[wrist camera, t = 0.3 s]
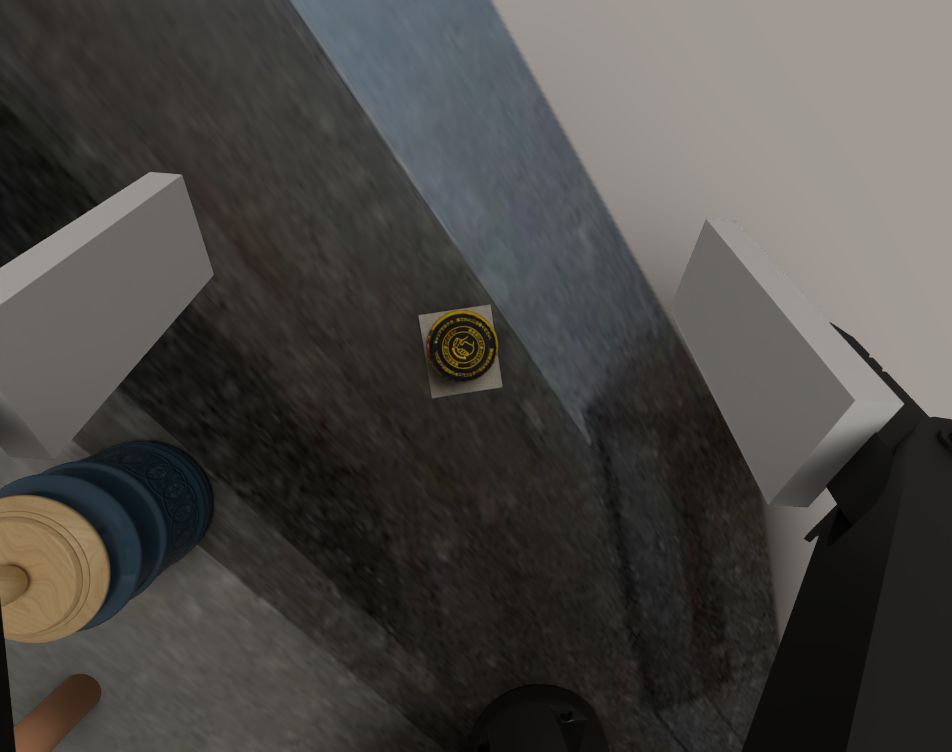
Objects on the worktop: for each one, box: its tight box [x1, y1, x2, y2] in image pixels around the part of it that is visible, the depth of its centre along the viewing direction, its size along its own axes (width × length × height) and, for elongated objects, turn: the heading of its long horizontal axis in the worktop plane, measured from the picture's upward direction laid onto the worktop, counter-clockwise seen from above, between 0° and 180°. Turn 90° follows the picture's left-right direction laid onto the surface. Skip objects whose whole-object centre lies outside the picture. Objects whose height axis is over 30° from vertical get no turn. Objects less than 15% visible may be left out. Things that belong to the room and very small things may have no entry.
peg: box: [14, 674, 101, 752], centre depth 45 cm, size 4×4×12 cm
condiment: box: [419, 304, 502, 398], centre depth 43 cm, size 7×8×12 cm
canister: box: [0, 441, 213, 643], centre depth 40 cm, size 13×13×18 cm
